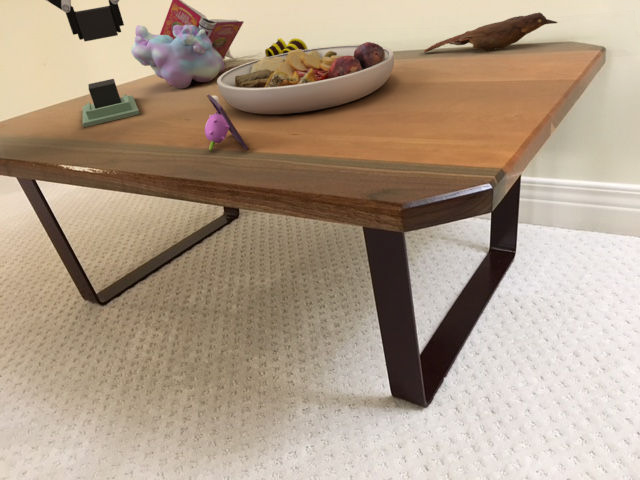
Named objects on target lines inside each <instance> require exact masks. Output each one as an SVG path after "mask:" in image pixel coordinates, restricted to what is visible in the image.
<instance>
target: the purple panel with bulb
mask: <svg viewBox="0 0 640 480" xmlns="http://www.w3.org/2000/svg"><path fill="white" fill-rule="evenodd" d="M206 97H207V98H208V100H209V102H210V103H211V105H212V106H213V108H214V109H215V111H216V112H215V113H213V114H209V117H208V119H207V121H206V123H205V126H204V135H205V137H206V139H207V140H208V141H209V142H210V144H209V146H208V147H209V149H208V151H209V152H212V151H213V149H214V147H215V145H216V144H221V143H222V142H223V141H225V139H226V137H227V135H228V132H230V134H231V135H232V137H233V138H235V140H236V141H237V142H238V143H239V144H240V145H241V146H242V148H244V150H245V152H246V151H249V147H248V146H247V144H246V142H245V141H244V139H243V138H242V136H241V134H240V133H239V131H238V130H237V128H236V127H235V125H234V123H233V122H232V120H231V119H230V117H229V116H228V113H226V111H225V109H224V108H223V106H222V105H221V104H220V103H219V102H220V99H219V97H218V96H217V95H211V94H209V93H208V94H206Z"/></svg>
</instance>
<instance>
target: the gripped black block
mask: <svg viewBox="0 0 640 480" xmlns="http://www.w3.org/2000/svg"><path fill="white" fill-rule="evenodd" d="M75 15H76V18H77V21H78V24H79V27H80V30H81V33H82V36H83V39H82V40H83V41H84V42H90V41H95V40H100V39H101V40H102V39H106V38H111V37H116V36H119V35H118V32H117V30H116V27H115V24H114V20H113V17H112V14H111V10H110V7H109V5H105V6H101V7H95V8H88V9H83V10H78V11H76V13H75Z"/></svg>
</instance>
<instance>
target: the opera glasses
mask: <svg viewBox="0 0 640 480" xmlns="http://www.w3.org/2000/svg"><path fill="white" fill-rule="evenodd" d="M276 40H277V41H276V42H274V43H272V44H271V45H270V46H269V47H267V48H265V51H264V53H265V57H271V56H275V55H279V54H284V53H288V52H289V51H292V50H296V49H301V50H307V49H308V45H306V43H305V42H304V40H303V39H300V38H296V37H295V38H292V39H290V40H289V41H288V43H286V42H285V41H284V39H283V38H281V37H280V38H277V39H276Z"/></svg>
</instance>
